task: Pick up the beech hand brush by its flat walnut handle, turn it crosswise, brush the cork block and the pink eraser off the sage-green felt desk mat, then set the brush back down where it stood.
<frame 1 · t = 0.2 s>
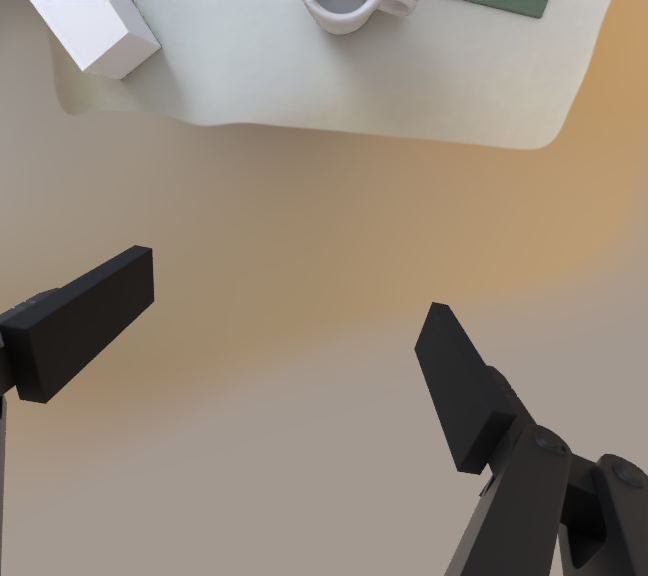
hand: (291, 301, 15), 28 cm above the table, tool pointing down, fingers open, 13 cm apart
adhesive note: (121, 34, 34), on the table
cup: (354, 1, 32), on the table
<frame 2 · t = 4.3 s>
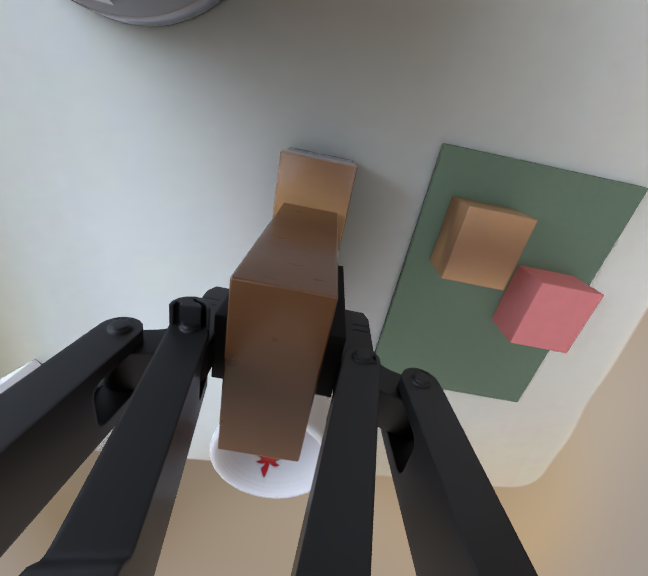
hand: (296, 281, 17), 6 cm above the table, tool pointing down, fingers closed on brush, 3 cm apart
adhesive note: (41, 392, 30), on the table
cup: (303, 378, 28), on the table
cork block: (469, 235, 22), resting on desk mat
brush: (306, 245, 23), on the table, touching gripper
eraser block: (530, 298, 24), resting on desk mat
desk mat: (485, 293, 24), on the table
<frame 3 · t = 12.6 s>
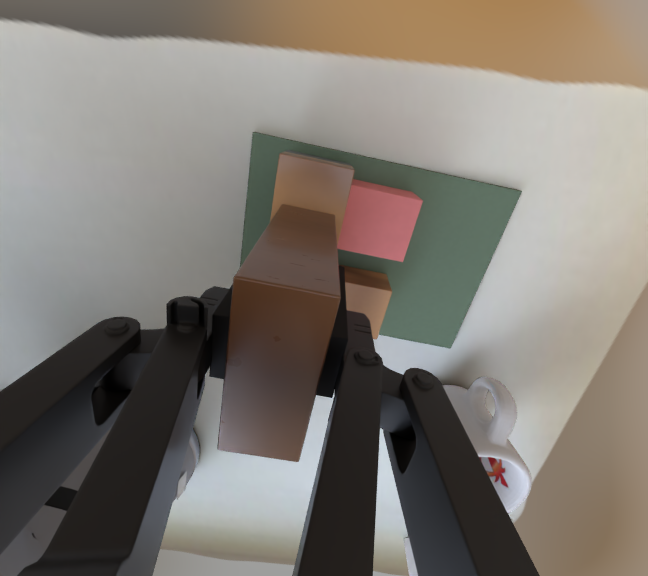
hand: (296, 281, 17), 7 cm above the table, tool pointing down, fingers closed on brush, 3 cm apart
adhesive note: (435, 543, 41), on the table
cup: (448, 394, 30), on the table
cork block: (351, 291, 25), resting on desk mat, touching brush
brush: (302, 246, 23), point 1 cm above the table, touching cork block, eraser block, gripper
eraser block: (372, 214, 23), resting on desk mat, touching brush
desk mat: (364, 253, 24), on the table
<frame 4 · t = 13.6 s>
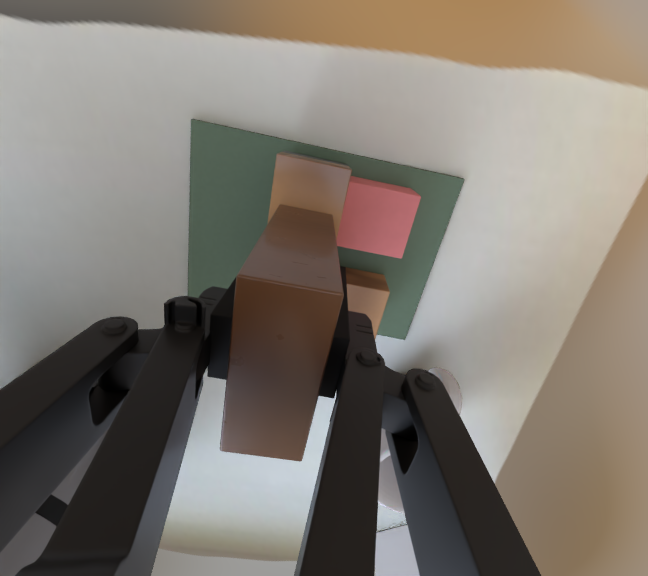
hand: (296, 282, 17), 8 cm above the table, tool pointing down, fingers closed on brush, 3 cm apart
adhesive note: (404, 538, 40), on the table
cup: (407, 386, 30), on the table
cork block: (349, 292, 25), resting on desk mat, touching brush
brush: (299, 247, 23), point 1 cm above the table, touching cork block, eraser block, gripper
eraser block: (371, 211, 23), resting on desk mat, touching brush
desk mat: (312, 242, 24), on the table
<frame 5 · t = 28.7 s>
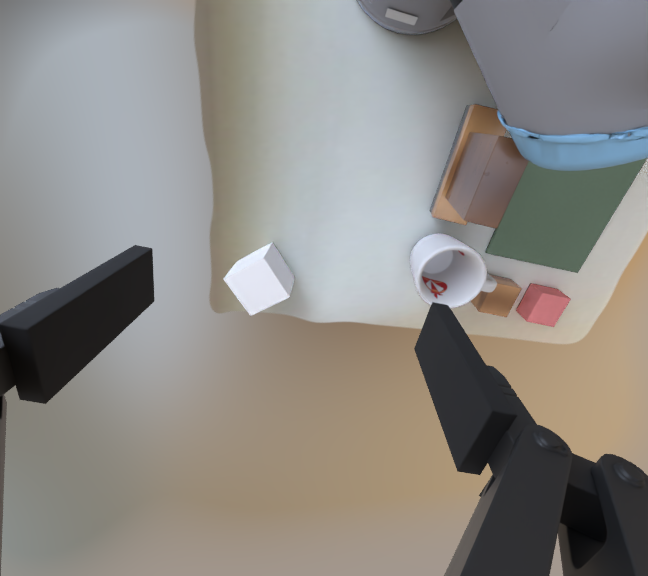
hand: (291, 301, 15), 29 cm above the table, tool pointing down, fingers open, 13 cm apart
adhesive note: (266, 268, 46), on the table
cup: (442, 257, 45), on the table
cork block: (490, 290, 46), on the table
brush: (462, 165, 39), on the table, tilted 7°, touching arm
eraser block: (536, 299, 47), on the table
desk mat: (565, 195, 40), on the table
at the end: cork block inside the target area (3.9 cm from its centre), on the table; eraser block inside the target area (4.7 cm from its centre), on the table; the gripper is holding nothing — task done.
